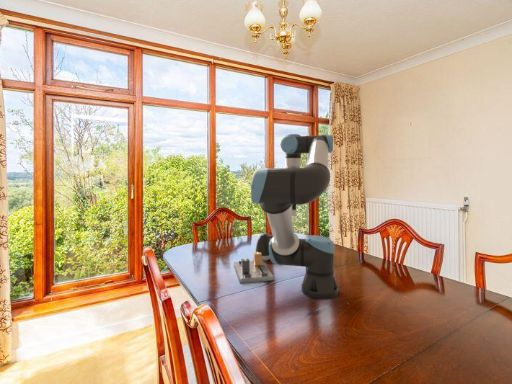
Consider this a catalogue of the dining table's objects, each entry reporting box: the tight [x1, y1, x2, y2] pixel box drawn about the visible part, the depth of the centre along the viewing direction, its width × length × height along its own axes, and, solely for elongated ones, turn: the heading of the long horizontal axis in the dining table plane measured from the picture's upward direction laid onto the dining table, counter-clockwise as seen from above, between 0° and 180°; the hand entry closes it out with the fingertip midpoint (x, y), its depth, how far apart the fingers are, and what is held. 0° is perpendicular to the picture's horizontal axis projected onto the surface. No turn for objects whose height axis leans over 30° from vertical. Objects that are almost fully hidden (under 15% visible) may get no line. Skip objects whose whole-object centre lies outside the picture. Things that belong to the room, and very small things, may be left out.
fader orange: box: [253, 252, 262, 266], centre depth 149 cm, size 3×4×6 cm
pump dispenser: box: [255, 233, 273, 262], centre depth 164 cm, size 10×10×15 cm
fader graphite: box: [240, 257, 250, 273], centre depth 139 cm, size 3×4×6 cm
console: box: [233, 259, 275, 284], centre depth 143 cm, size 24×16×3 cm
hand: (293, 216), depth 137 cm, fingers closed
